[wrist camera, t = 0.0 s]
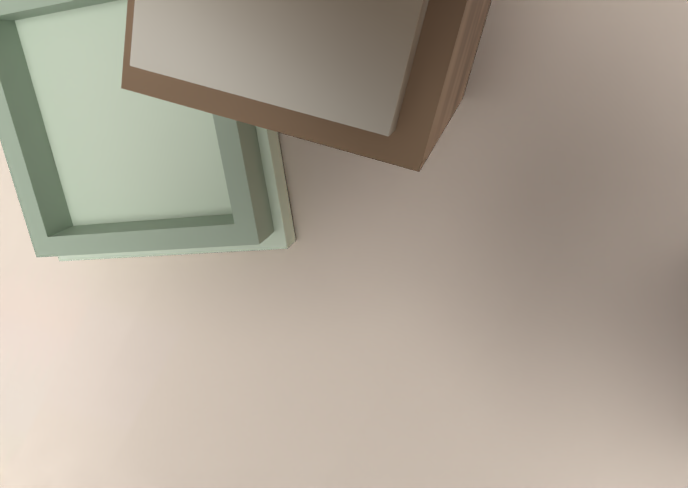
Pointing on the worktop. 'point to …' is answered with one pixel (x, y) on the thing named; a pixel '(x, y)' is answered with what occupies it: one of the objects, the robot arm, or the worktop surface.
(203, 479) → the worktop surface
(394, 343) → the worktop surface
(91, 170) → the tray
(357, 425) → the worktop surface
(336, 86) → the wooden square pillar
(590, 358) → the worktop surface
